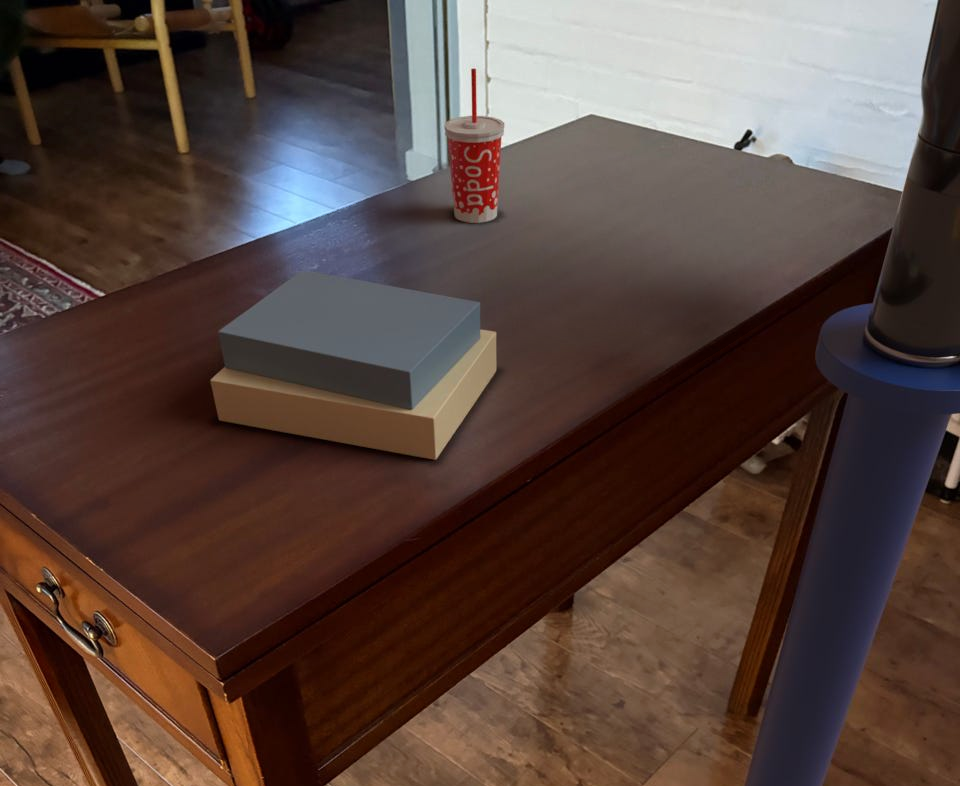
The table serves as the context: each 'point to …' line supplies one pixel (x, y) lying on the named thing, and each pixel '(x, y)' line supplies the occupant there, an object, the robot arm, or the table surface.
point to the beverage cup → (475, 163)
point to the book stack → (355, 364)
